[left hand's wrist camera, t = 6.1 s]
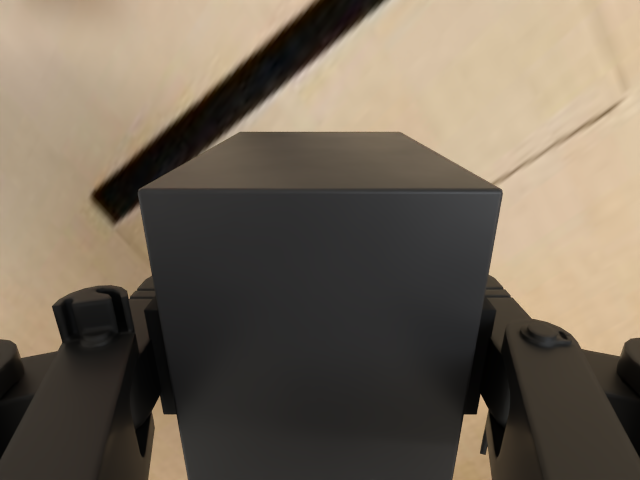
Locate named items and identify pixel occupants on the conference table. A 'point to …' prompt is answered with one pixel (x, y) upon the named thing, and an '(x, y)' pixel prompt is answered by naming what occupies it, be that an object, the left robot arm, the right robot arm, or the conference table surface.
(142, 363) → the left robot arm
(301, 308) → the bar
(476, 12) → the conference table surface
